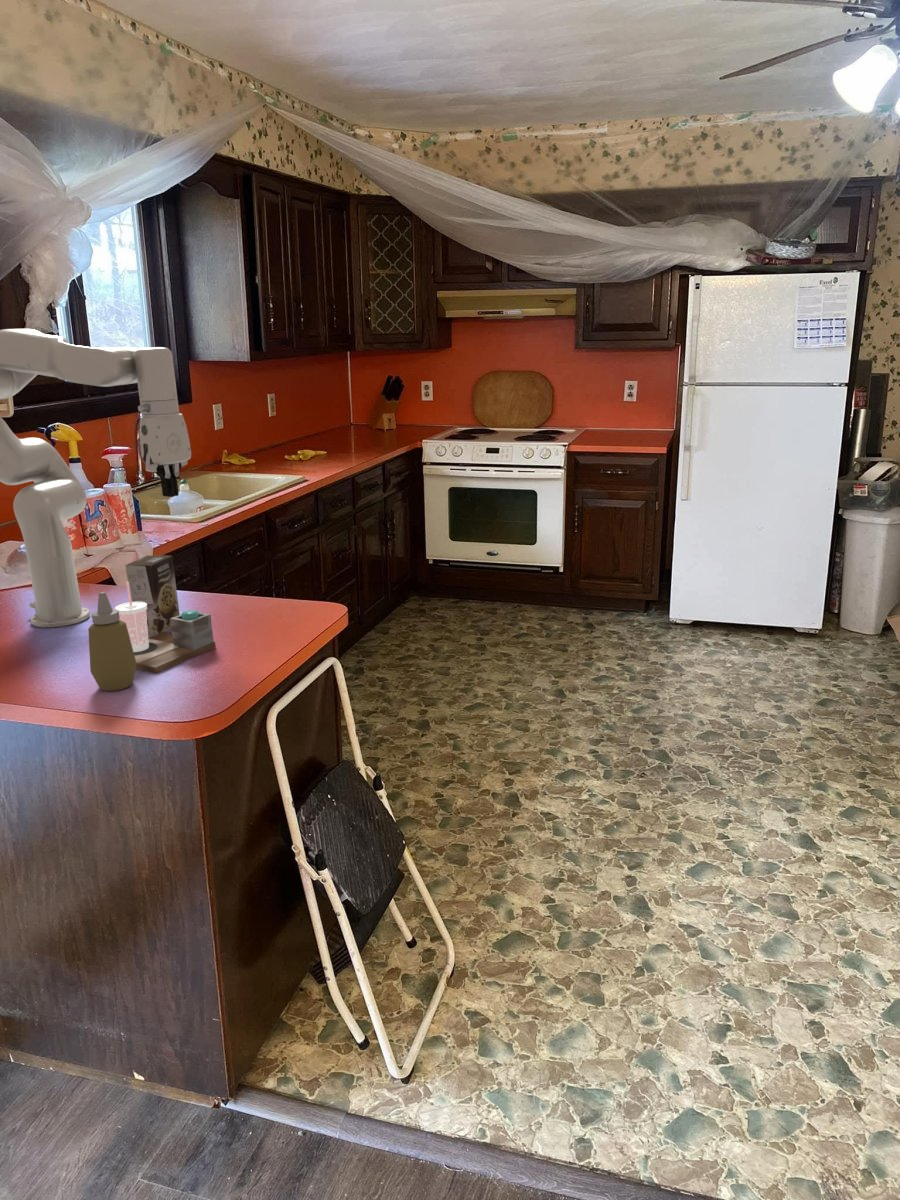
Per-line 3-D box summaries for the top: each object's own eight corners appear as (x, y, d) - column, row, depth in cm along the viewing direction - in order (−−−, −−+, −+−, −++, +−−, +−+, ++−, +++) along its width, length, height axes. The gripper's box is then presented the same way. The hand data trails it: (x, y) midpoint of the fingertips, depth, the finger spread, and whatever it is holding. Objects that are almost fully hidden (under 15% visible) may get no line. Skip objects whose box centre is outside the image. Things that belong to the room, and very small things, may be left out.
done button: (180, 627, 182) (178, 613, 181) (191, 623, 184) (190, 609, 184) (191, 630, 180) (189, 615, 179) (203, 625, 183) (201, 611, 182)
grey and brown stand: (103, 661, 179) (97, 627, 177) (164, 637, 192) (160, 605, 190) (156, 673, 172) (151, 637, 170) (215, 647, 185) (211, 614, 183)
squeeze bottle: (100, 678, 170) (86, 588, 165) (144, 676, 170) (130, 585, 165) (87, 695, 162) (71, 600, 157) (132, 692, 163) (118, 598, 157)
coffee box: (160, 638, 192) (150, 565, 187) (134, 636, 193) (123, 564, 188) (182, 624, 200) (173, 554, 195) (156, 623, 202) (147, 554, 197)
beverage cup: (150, 641, 185) (140, 576, 181) (155, 649, 180) (146, 583, 176) (119, 646, 183) (109, 580, 178) (123, 655, 177) (113, 587, 173)
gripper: (144, 412, 178) (156, 503, 184) (199, 405, 191) (208, 491, 196) (118, 411, 182) (131, 501, 187) (174, 405, 194) (184, 489, 200)
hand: (170, 495), depth 192 cm, fingers closed
